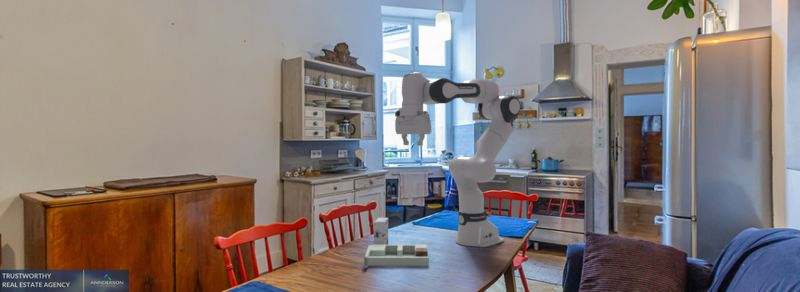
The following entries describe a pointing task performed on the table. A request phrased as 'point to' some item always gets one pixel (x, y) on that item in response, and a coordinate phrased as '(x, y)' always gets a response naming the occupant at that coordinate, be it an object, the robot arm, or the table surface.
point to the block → (421, 252)
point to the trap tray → (394, 256)
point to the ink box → (381, 231)
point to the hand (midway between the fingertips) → (412, 145)
